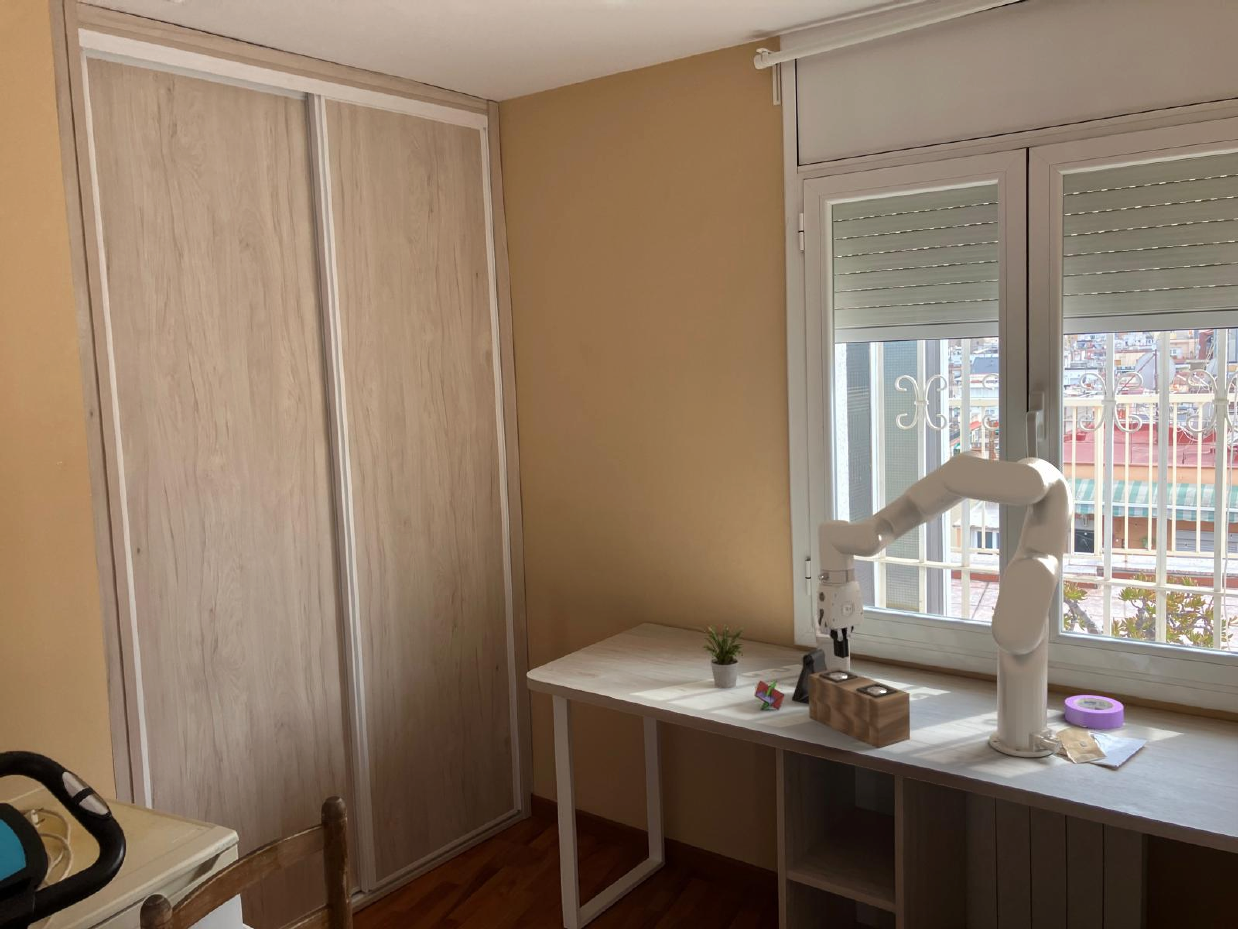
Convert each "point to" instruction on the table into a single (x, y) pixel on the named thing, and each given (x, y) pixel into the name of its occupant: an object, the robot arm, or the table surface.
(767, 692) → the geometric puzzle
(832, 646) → the stereo radio cassette player
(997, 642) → the robot arm
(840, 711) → the block
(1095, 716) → the masking tape
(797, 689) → the phone stand
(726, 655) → the house plant
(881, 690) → the peg near
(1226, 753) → the table surface
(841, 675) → the peg far
